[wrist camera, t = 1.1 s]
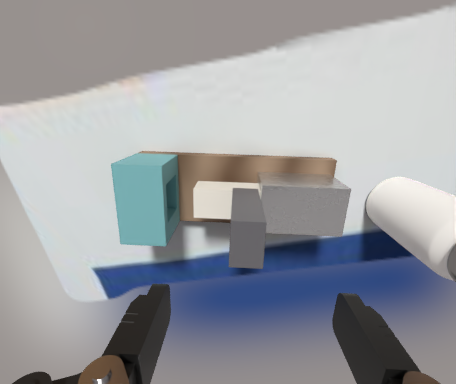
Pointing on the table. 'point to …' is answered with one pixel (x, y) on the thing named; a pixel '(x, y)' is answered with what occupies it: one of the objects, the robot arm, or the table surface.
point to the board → (235, 172)
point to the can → (417, 221)
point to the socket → (146, 198)
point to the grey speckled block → (303, 203)
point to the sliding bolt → (235, 217)
